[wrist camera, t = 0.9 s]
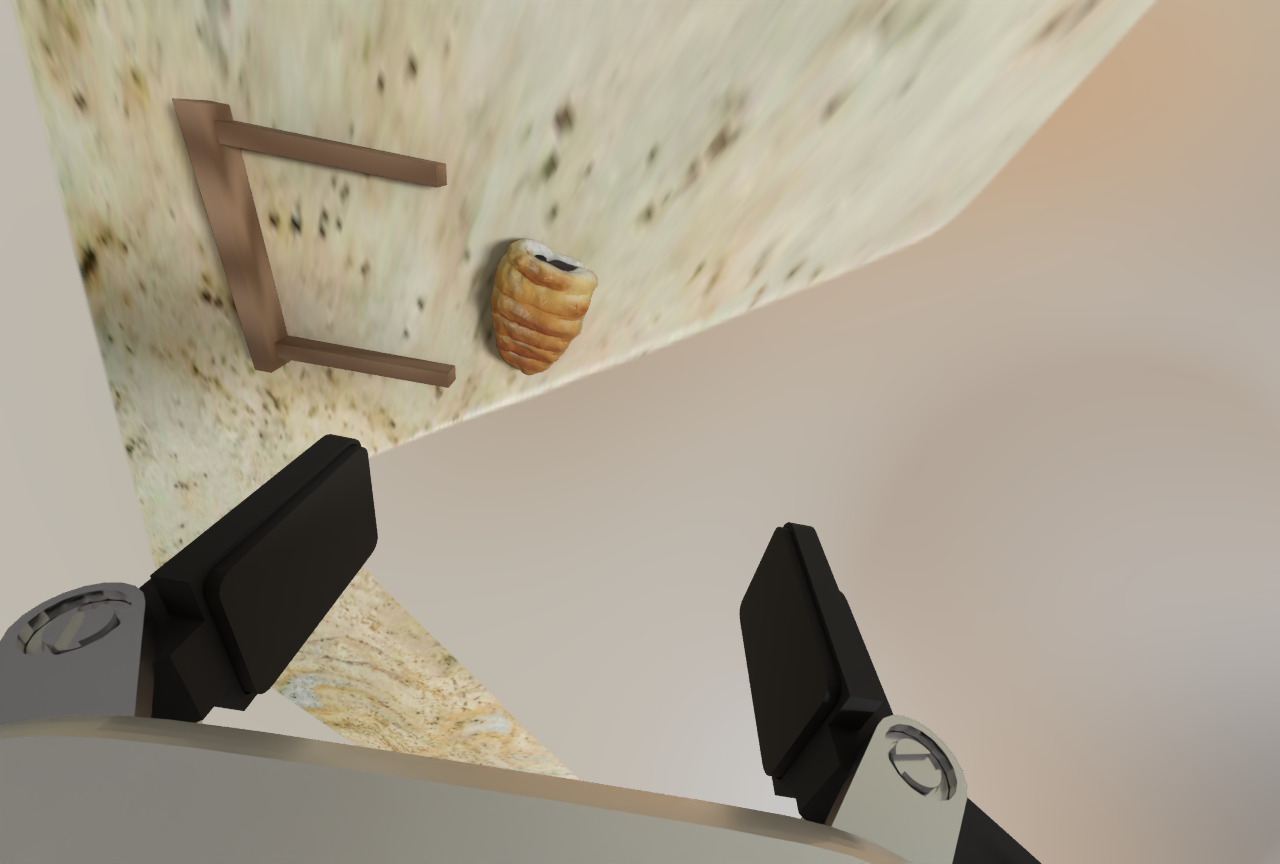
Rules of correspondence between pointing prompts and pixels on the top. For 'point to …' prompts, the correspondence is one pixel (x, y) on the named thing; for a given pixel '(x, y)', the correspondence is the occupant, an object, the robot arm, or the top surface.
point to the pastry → (538, 304)
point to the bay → (243, 245)
